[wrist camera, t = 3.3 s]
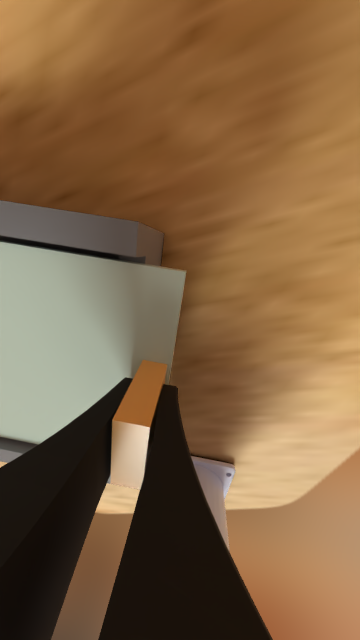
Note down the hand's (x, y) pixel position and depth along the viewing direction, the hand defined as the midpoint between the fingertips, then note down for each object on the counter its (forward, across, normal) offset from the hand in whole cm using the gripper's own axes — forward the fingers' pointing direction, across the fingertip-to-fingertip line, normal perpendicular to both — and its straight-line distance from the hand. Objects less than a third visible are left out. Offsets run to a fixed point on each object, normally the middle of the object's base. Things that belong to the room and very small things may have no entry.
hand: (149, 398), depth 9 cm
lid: (+1, +8, 0) cm, 8 cm away
